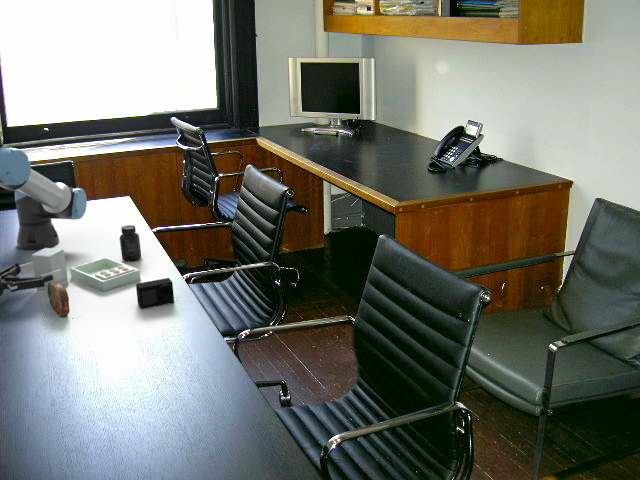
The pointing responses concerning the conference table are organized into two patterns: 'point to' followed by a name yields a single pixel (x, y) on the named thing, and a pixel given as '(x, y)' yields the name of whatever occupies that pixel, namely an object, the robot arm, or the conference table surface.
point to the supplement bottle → (130, 244)
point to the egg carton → (113, 272)
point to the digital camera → (155, 293)
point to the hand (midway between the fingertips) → (50, 268)
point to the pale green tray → (88, 271)
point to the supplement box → (50, 265)
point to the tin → (58, 298)
